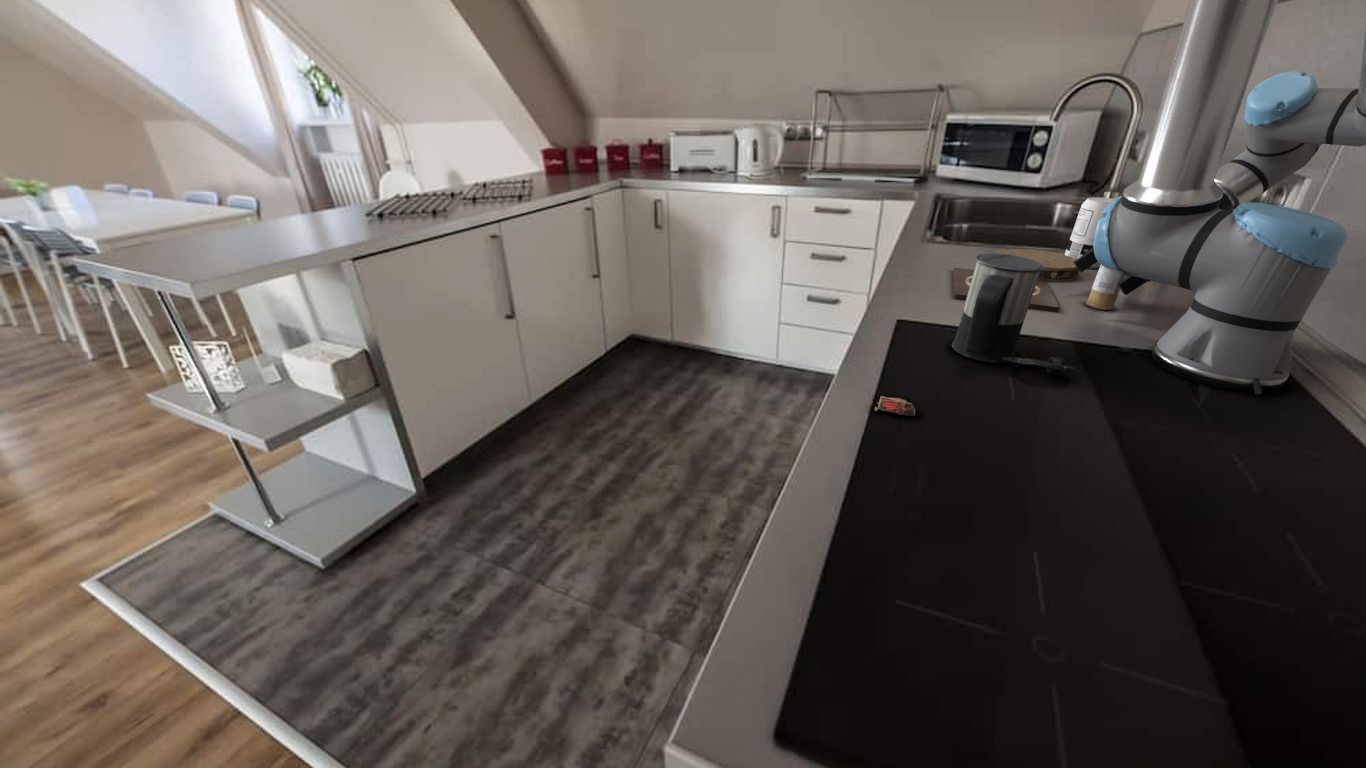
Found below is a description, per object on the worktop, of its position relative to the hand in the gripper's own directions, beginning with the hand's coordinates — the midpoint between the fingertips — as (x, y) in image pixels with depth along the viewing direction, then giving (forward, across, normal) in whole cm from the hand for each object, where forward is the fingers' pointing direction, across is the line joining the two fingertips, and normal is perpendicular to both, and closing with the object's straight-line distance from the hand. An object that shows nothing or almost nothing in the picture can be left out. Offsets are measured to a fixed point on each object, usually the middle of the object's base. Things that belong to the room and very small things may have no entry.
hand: (1097, 277), depth 106 cm
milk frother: (+24, -26, +15) cm, 39 cm away
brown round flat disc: (+3, +23, -6) cm, 24 cm away
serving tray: (+13, +9, +5) cm, 16 cm away
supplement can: (-7, +30, -16) cm, 35 cm away
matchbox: (+39, -42, +31) cm, 65 cm away
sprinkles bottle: (+3, 0, -6) cm, 6 cm away
